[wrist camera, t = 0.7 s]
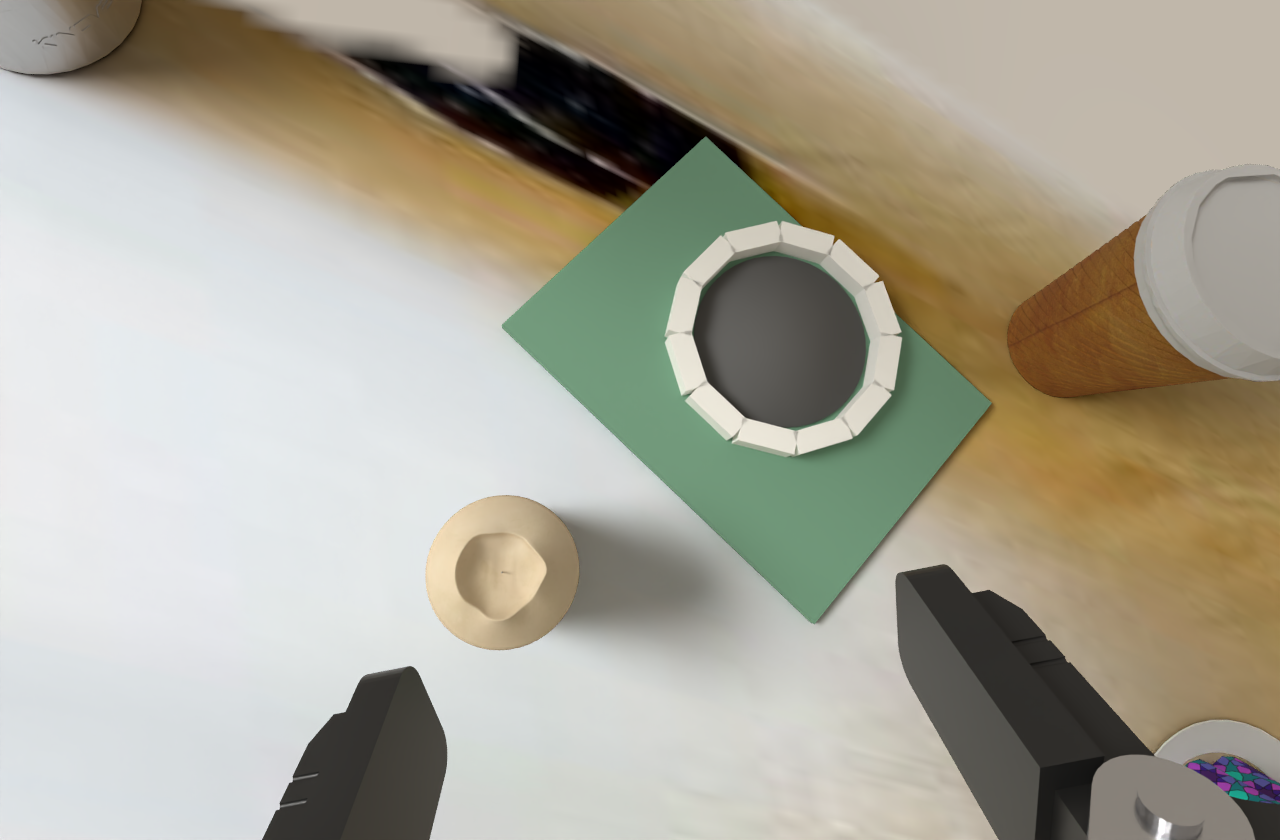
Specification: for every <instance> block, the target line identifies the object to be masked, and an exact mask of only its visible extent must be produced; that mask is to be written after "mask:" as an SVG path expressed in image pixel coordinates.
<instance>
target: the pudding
mask: <svg viewBox="0 0 1280 840" xmlns="http://www.w3.org/2000/svg"><path fill="white" fill-rule="evenodd" d="M1221 752H1222V753H1227V754H1232V755H1236V756H1238V757H1241V758H1243V759H1246V760H1247V761H1249V762H1250V763H1252V764H1254V765H1255V766H1257V767H1258V768H1259V769H1260V770H1261V771H1262V772H1264V773H1265V774H1266V775H1267V776H1266V775H1265V774H1263V773H1261V772H1260V771H1258V770H1256V769H1254V768H1253V767H1251V766H1249V765H1247V764H1246V763H1244V762H1242V761H1240V760H1239V759H1237V758H1235V757H1224V756H1222V757H1221V758H1220V759H1219V760H1218V761H1216V762H1215V763H1214V764H1213V765H1211V764H1209V763H1207V762H1204V761H1202V760H1200V759H1199V760H1196V761H1192V762H1189V763H1188V764H1187V765H1186V766H1185V767H1188V768H1190V769H1192V770H1194V771H1196V772H1197V773H1199V774H1201V775H1203V776H1204V777H1206V778H1208V779H1209V780H1210V781H1212V782H1213V783H1215V784H1216V785H1217V786H1219V787H1220V788H1221V789H1222V790H1223V791H1224V792H1226V793H1227V794H1228V795H1229V796H1232V797H1235V798H1239V799H1244V800H1250V801H1256V802H1265V803H1273V804H1280V741H1279V740H1277V739H1276V738H1274V737H1273V736H1271V735H1270V734H1268V733H1266V732H1265V731H1263V730H1261V729H1259V728H1256V727H1254V726H1251V725H1249V724H1247V723H1242V722H1237V721H1232V720H1208V721H1204V722H1200V723H1195V724H1193V725H1191V726H1189V727H1186V728H1184V729H1182V730H1180V731H1178V732H1177V733H1176V734H1175V735H1173V736H1172V737H1171V738H1169V739H1168V740H1167V741H1165V742H1164V744H1163V745H1162V746H1161V747H1160V748H1159V749H1158V751H1157V752H1156V753H1155V754H1154V755H1155V756H1156V757H1159V758H1163V759H1167V760H1170V761H1173V762H1176V763H1178V764H1181V765H1183V764H1184V763H1185V762H1186V761H1188V760H1190V759H1192V758H1194V757H1196V756H1198V755H1202V754H1206V753H1221Z"/></svg>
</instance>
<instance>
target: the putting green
mask: <svg viewBox="0 0 1280 840" xmlns="http://www.w3.org/2000/svg"><path fill="white" fill-rule="evenodd" d="M833 241H834V236H833V235H830V234H826V233H823V232H819V231H816V230H812V229H809V228H805V227H802V226H801V225H800V224H799V223H798V222H797V221H796V220H795V219H794V218H793V217H791V216H790V215H789V214H788V213H787V212H786V211H785V210H784V209H783V208H782V207H781V206H780V205H779V204H778V203H776V202H775V201H774V200H773V199H772V198H771V197H770V196H769V195H768V194H767V193H766V192H765V191H764V190H762V189H761V188H760V187H759V186H758V185H757V184H756V183H755V182H754V181H753V180H752V179H751V178H750V177H749V176H747V175H746V174H745V173H744V172H743V171H742V170H741V169H740V168H739V167H738V166H737V165H736V164H735V163H733V162H732V161H731V160H730V159H729V158H728V157H727V156H726V155H725V154H724V153H723V152H722V151H721V150H720V149H718V148H717V147H716V146H715V145H714V144H713V143H712V142H711V141H710V140H709V139H708V138H707V137H705V138H704V139H702V140H701V141H700V142H699V143H698V144H697V145H696V146H695V147H694V148H693V149H692V150H691V151H689V152H688V153H687V154H686V155H685V156H684V157H683V158H682V159H681V160H680V161H679V162H678V163H676V164H675V165H674V166H673V167H672V168H671V169H670V170H669V171H668V172H667V173H666V174H665V175H664V176H662V177H661V178H660V179H659V180H658V181H657V182H656V183H655V184H654V185H653V186H652V187H651V188H649V189H648V190H647V191H646V192H645V193H644V194H643V195H642V196H641V197H640V198H639V199H638V200H636V201H635V202H634V203H633V204H632V205H631V206H630V207H629V208H628V209H627V210H626V211H625V212H623V213H622V214H621V215H620V216H619V217H618V218H617V219H616V220H615V221H614V222H613V223H612V224H611V225H609V226H608V227H607V228H606V229H605V230H604V231H603V232H602V233H601V234H600V235H599V236H598V237H596V238H595V239H594V240H593V241H592V242H591V243H590V244H589V245H588V246H587V247H586V248H585V249H583V250H582V251H581V252H580V253H579V254H578V255H577V256H576V257H575V258H574V259H573V260H572V261H571V262H569V263H568V264H567V265H566V266H565V267H564V268H563V269H562V270H561V271H560V272H559V273H558V274H556V275H555V276H554V277H553V278H552V279H551V280H550V281H549V282H548V283H547V284H546V285H545V286H543V287H542V288H541V289H540V290H539V291H538V292H537V293H536V294H535V295H534V296H533V297H532V298H531V299H529V300H528V301H527V302H526V303H525V304H524V305H523V306H522V307H521V308H520V309H519V310H518V311H516V312H515V313H514V314H513V315H512V316H511V317H510V318H509V319H508V320H507V321H506V322H505V323H503V324H502V328H503V329H504V330H505V331H506V332H507V333H508V334H509V335H510V336H511V337H512V338H513V339H514V340H515V341H516V342H518V343H519V344H520V345H521V346H522V347H523V348H524V349H525V350H526V351H527V352H528V353H529V354H530V355H531V356H532V357H533V358H534V359H535V360H536V361H537V362H538V363H539V364H541V365H542V366H543V367H544V368H545V369H546V370H547V371H548V372H549V373H550V374H551V375H552V376H553V377H554V378H555V379H556V380H557V381H558V382H559V383H560V384H561V385H563V386H564V387H565V388H566V389H567V390H568V391H569V392H570V393H571V394H572V395H573V396H574V397H575V398H576V399H577V400H578V401H579V402H580V403H581V404H582V405H583V406H585V407H586V408H587V409H588V410H589V411H590V412H591V413H592V414H593V415H594V416H595V417H596V418H597V419H598V420H599V421H600V422H601V423H602V424H603V425H604V426H605V427H606V428H608V429H609V430H610V431H611V432H612V433H613V434H614V435H615V436H616V437H617V438H618V439H619V440H620V441H621V442H622V443H623V444H624V445H625V446H626V447H627V448H628V449H630V450H631V451H632V452H633V453H634V454H635V455H636V456H637V457H638V458H639V459H640V460H641V461H642V462H643V463H644V464H645V465H646V466H647V467H648V468H649V469H650V470H652V471H653V472H654V473H655V474H656V475H657V476H658V477H659V478H660V479H661V480H662V481H663V482H664V483H665V484H666V485H667V486H668V487H669V488H670V489H671V490H672V491H673V492H675V493H676V494H677V495H678V496H679V497H680V498H681V499H682V500H683V501H684V502H685V503H686V504H687V505H688V506H689V507H690V508H691V509H692V510H693V511H694V512H695V513H697V514H698V515H699V516H700V517H701V518H702V519H703V520H704V521H705V522H706V523H707V524H708V525H709V526H710V527H711V528H712V529H713V530H714V531H715V532H716V533H717V534H719V535H720V536H721V537H722V538H723V539H724V540H725V541H726V542H727V543H728V544H729V545H730V546H731V547H732V548H733V549H734V550H735V551H736V552H737V553H738V554H739V555H740V556H742V557H743V558H744V559H745V560H746V561H747V562H748V563H749V564H750V565H751V566H752V567H753V568H754V569H755V570H756V571H757V572H758V573H759V574H760V575H761V576H762V577H764V578H765V579H766V580H767V581H768V582H769V583H770V584H771V585H772V586H773V587H774V588H775V589H776V590H777V591H778V592H779V593H780V594H781V595H782V596H783V597H784V598H786V599H787V600H788V601H789V602H790V603H791V604H792V605H793V606H794V607H795V608H796V609H797V610H798V611H799V612H800V613H801V614H802V615H803V616H804V617H805V618H806V619H807V620H809V621H810V622H811V623H813V624H815V623H816V622H817V620H818V619H819V618H820V617H821V615H822V614H823V613H824V612H825V610H826V609H827V608H828V607H829V605H830V604H831V603H832V602H833V600H834V599H835V598H836V597H837V595H838V594H839V593H840V592H841V590H842V589H843V588H844V587H845V585H846V584H847V583H848V582H849V580H850V579H851V578H852V577H853V575H854V574H855V573H856V572H857V570H858V569H859V568H860V567H861V566H862V564H863V563H864V562H865V561H866V559H867V558H868V557H869V556H870V554H871V553H872V552H873V551H874V549H875V548H876V547H877V546H878V544H879V543H880V542H881V541H882V539H883V538H884V537H885V536H886V534H887V533H888V532H889V531H890V529H891V528H892V527H893V526H894V524H895V523H896V522H897V521H898V519H899V518H900V517H901V516H902V514H903V513H904V512H905V511H906V509H907V508H908V507H909V506H910V504H911V503H912V502H913V501H914V500H915V498H916V497H917V496H918V495H919V493H920V492H921V491H922V490H923V488H924V487H925V486H926V485H927V483H928V482H929V481H930V480H931V478H932V477H933V476H934V475H935V473H936V472H937V471H938V470H939V468H940V467H941V466H942V465H943V463H944V462H945V461H946V460H947V458H948V457H949V456H950V455H951V453H952V452H953V451H954V450H955V448H956V447H957V446H958V445H959V443H960V442H961V441H962V440H963V438H964V437H965V436H966V435H967V433H968V432H969V431H970V430H971V429H972V427H973V426H974V425H975V424H976V422H977V421H978V420H979V419H980V417H981V416H982V415H983V414H984V412H985V411H986V410H987V409H988V407H989V406H990V405H991V404H992V403H991V402H990V401H989V400H988V399H987V398H986V397H985V396H984V395H983V394H982V393H980V392H979V391H978V390H977V389H976V388H975V387H974V386H973V385H972V384H971V383H970V382H969V381H968V380H966V379H965V378H964V377H963V376H962V375H961V374H960V373H959V372H958V371H957V370H956V369H955V368H954V367H953V366H951V365H950V364H949V363H948V362H947V361H946V360H945V359H944V358H943V357H942V356H941V355H940V354H939V353H937V352H936V351H935V350H934V349H933V348H932V347H931V346H930V345H929V344H928V343H927V342H926V341H925V340H924V339H922V338H921V337H920V336H919V335H918V334H917V333H916V332H915V331H914V330H913V329H912V328H911V327H910V326H908V325H907V324H906V323H905V322H904V321H903V320H902V319H901V318H900V317H899V316H898V315H897V314H896V313H895V312H894V310H893V307H892V305H891V302H890V299H889V297H888V294H887V291H886V288H885V286H884V283H883V281H880V282H876V283H874V282H875V281H876V280H877V278H878V277H879V275H878V274H877V273H876V272H875V271H873V270H872V269H871V268H870V267H869V266H868V265H867V264H866V263H865V262H864V261H863V260H862V259H861V258H860V257H858V256H857V255H856V254H855V253H854V252H853V251H852V250H851V249H850V248H849V247H848V246H847V245H846V244H844V243H843V242H842V241H841V240H840V239H838V241H837V242H836V243H835V244H834V245H833Z"/></svg>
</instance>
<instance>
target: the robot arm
mask: <svg viewBox="0 0 1280 840" xmlns="http://www.w3.org/2000/svg"><path fill="white" fill-rule="evenodd" d="M141 3H142V0H0V67H1V68H3V69H6V70H10V71H15V72H21V73H26V74H54V73H60V72H67V71H72V70H75V69H78V68H81V67H84V66H87V65H90V64H91V63H93V62H95V61H97V60H99V59H101V58H102V57H104V56H106V55H108V54H109V53H110V52H111V51H112V50H114V49H115V48H116V47H117V46H119V45H120V44H121V43H122V42H123V40H124V39H125V38H126V37H127V35H128V34H129V33H130V32H131V30H132V29H133V27H134V25H135V22H136V20H137V18H138V16H139V14H140V8H141ZM896 606H897V628H898V647H899V653H900V657H901V661H902V665H903V668H904V671H905V673H906V676H907V678H908V680H909V683H910V685H911V686H912V688H913V690H914V692H915V694H916V695H917V697H918V699H919V701H920V702H921V704H922V706H923V708H924V709H925V711H926V713H927V715H928V716H929V718H930V720H931V722H932V723H933V725H934V727H935V729H936V730H937V732H938V734H939V736H940V737H941V739H942V741H943V743H944V744H945V746H946V748H947V750H948V751H949V753H950V755H951V757H952V758H953V760H954V762H955V764H956V765H957V767H958V769H959V771H960V772H961V774H962V776H963V778H964V779H965V781H966V783H967V785H968V787H969V788H970V790H971V792H972V794H973V795H974V797H975V799H976V801H977V802H978V804H979V806H980V808H981V809H982V811H983V813H984V815H985V816H986V818H987V820H988V822H989V823H990V825H991V827H992V829H993V830H994V832H995V834H996V836H997V837H998V839H999V840H1280V804H1273V803H1265V802H1256V801H1250V800H1244V799H1239V798H1235V797H1232V796H1229V795H1228V794H1227V793H1226V792H1224V791H1223V790H1222V789H1221V788H1220V787H1219V786H1217V785H1216V784H1215V783H1213V782H1212V781H1210V780H1209V779H1208V778H1206V777H1204V776H1203V775H1201V774H1199V773H1197V772H1196V771H1194V770H1192V769H1190V768H1188V767H1185V766H1183V765H1181V764H1178V763H1176V762H1173V761H1170V760H1167V759H1163V758H1159V757H1156V756H1155V755H1154V754H1153V753H1152V752H1151V751H1150V750H1149V749H1148V748H1147V747H1146V746H1145V745H1144V744H1143V743H1142V742H1141V741H1140V740H1139V738H1138V737H1137V736H1136V735H1135V734H1134V733H1133V732H1132V731H1131V730H1130V728H1129V727H1128V726H1127V725H1126V724H1125V723H1124V722H1123V721H1122V720H1121V718H1120V717H1119V716H1118V715H1117V714H1116V713H1115V712H1114V711H1113V710H1112V708H1111V707H1110V706H1109V705H1108V704H1107V703H1106V702H1105V701H1104V700H1103V698H1102V697H1101V696H1100V695H1099V694H1098V693H1097V692H1096V691H1095V690H1094V688H1093V687H1092V686H1091V685H1090V684H1089V683H1088V682H1087V681H1086V680H1085V678H1084V677H1083V676H1082V675H1081V674H1080V673H1079V672H1078V671H1077V670H1076V668H1075V667H1074V666H1073V665H1072V664H1071V663H1067V661H1066V659H1065V656H1064V655H1063V654H1062V653H1061V652H1060V651H1059V649H1058V648H1057V647H1056V646H1055V645H1054V644H1053V643H1052V642H1051V641H1050V640H1049V641H1048V640H1047V639H1046V635H1045V634H1044V633H1043V632H1042V631H1041V629H1040V628H1039V627H1038V626H1037V625H1036V624H1035V623H1034V622H1033V621H1032V619H1031V618H1030V617H1029V616H1028V615H1027V614H1026V613H1025V612H1024V611H1023V609H1021V608H1019V607H1018V606H1016V605H1014V604H1013V603H1011V602H1009V601H1007V600H1006V599H1004V598H1002V597H1001V596H999V595H997V594H996V593H994V592H992V591H990V590H986V591H981V592H976V593H971V592H970V591H969V590H968V588H967V587H966V586H965V585H964V583H963V582H962V581H961V580H960V579H959V577H958V576H957V575H956V574H955V572H954V571H953V570H952V569H951V568H950V567H949V566H947V565H945V564H942V565H937V566H932V567H927V568H922V569H917V570H911V571H906V572H901V573H898V574H897V576H896ZM446 767H447V744H446V738H445V734H444V731H443V728H442V726H441V723H440V721H439V719H438V716H437V714H436V712H435V710H434V707H433V705H432V703H431V700H430V698H429V696H428V694H427V691H426V689H425V687H424V685H423V682H422V680H421V678H420V675H419V673H418V672H417V670H416V669H415V668H414V667H411V666H408V667H403V668H398V669H393V670H388V671H383V672H378V673H372V674H367V675H365V676H364V677H362V679H361V680H360V682H359V683H358V685H357V688H356V690H355V692H354V694H353V697H352V699H351V701H350V703H349V706H348V708H347V710H346V712H344V713H339V714H334V715H333V716H332V717H331V718H330V720H329V721H328V722H327V723H326V724H325V725H324V726H323V728H322V729H321V730H320V731H319V732H318V733H317V735H316V736H315V737H314V738H313V739H312V740H311V742H310V743H309V744H308V746H307V748H306V750H305V752H304V754H303V756H302V758H301V760H300V762H299V764H298V766H297V768H296V770H295V773H294V775H293V782H292V783H289V785H288V787H287V789H286V791H285V793H284V795H283V797H282V799H281V802H280V809H279V810H276V812H275V814H274V816H273V818H272V820H271V822H270V824H269V826H268V829H267V831H266V833H265V835H264V837H263V839H262V840H429V839H430V835H431V830H432V826H433V822H434V818H435V814H436V810H437V806H438V802H439V798H440V793H441V789H442V785H443V781H444V777H445V773H446Z"/></svg>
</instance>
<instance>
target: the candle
mask: <svg viewBox="0 0 1280 840" xmlns="http://www.w3.org/2000/svg"><path fill="white" fill-rule="evenodd" d="M578 581H579V559H578V552H577V549H576V546H575V543H574V540H573V538H572V536H571V534H570V532H569V530H568V529H567V527H566V526H565V524H564V523H563V522H562V521H561V519H560V518H559V517H558V516H556V515H555V514H554V513H553V512H552V511H551V510H549V509H548V508H547V507H545V506H543V505H541V504H540V503H538V502H536V501H533V500H530V499H528V498H523V497H519V496H510V495H502V496H493V497H488V498H484V499H481V500H478V501H476V502H473V503H471V504H469V505H467V506H466V507H464V508H462V509H461V510H459V511H458V512H457V513H456V514H454V515H453V516H452V517H451V518H450V519H449V520H448V521H447V522H446V523H445V524H444V526H443V527H442V528H441V530H440V531H439V533H438V534H437V536H436V538H435V539H434V541H433V544H432V546H431V548H430V551H429V555H428V559H427V564H426V588H427V593H428V597H429V601H430V603H431V605H432V608H433V610H434V612H435V614H436V615H437V617H438V619H439V620H440V621H441V622H442V624H443V625H444V626H445V627H446V628H447V629H448V630H449V631H450V632H451V633H452V634H454V635H455V636H456V637H458V638H459V639H461V640H463V641H464V642H466V643H468V644H471V645H473V646H476V647H479V648H484V649H489V650H509V649H514V648H519V647H522V646H525V645H528V644H530V643H532V642H534V641H537V640H538V639H540V638H542V637H543V636H545V635H546V634H547V633H549V632H550V631H551V630H552V629H553V628H554V627H555V626H556V625H557V624H558V623H559V622H560V621H561V620H562V618H563V617H564V615H565V614H566V613H567V611H568V609H569V607H570V606H571V604H572V602H573V599H574V596H575V594H576V590H577V586H578Z"/></svg>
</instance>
